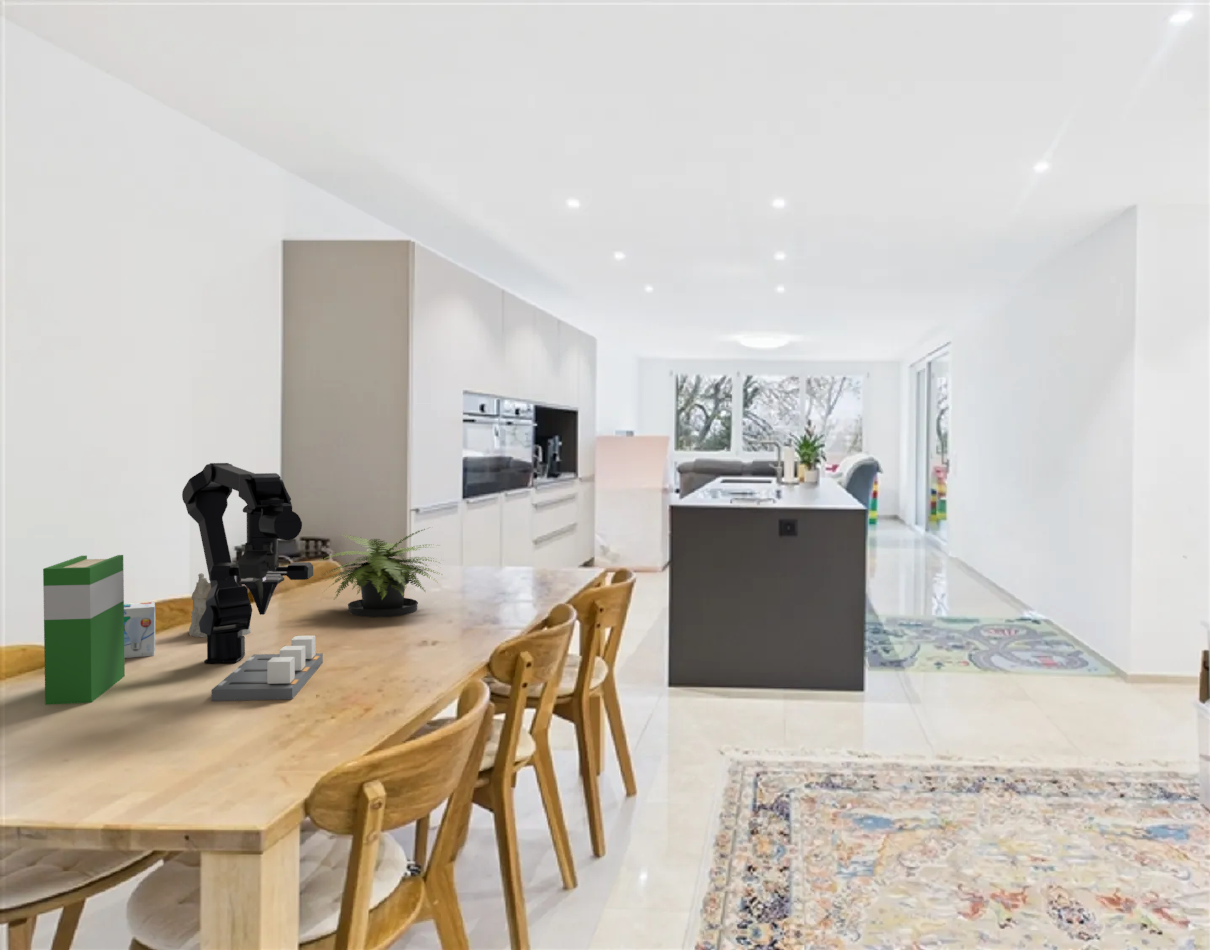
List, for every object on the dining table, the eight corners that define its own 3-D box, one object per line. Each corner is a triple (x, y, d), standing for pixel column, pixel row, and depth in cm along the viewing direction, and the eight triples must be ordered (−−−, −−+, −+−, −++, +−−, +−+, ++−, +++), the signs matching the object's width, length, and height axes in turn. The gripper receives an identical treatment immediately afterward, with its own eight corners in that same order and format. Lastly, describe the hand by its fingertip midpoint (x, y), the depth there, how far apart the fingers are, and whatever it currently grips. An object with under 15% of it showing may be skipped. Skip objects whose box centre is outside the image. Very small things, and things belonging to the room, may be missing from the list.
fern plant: (475, 615, 235) (476, 526, 234) (329, 630, 214) (329, 533, 213) (425, 594, 266) (426, 515, 265) (294, 605, 246) (294, 520, 245)
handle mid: (279, 670, 168) (279, 650, 168) (284, 666, 172) (284, 645, 172) (301, 670, 169) (301, 649, 169) (305, 665, 172) (305, 645, 172)
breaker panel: (211, 700, 156) (211, 689, 156) (253, 663, 182) (253, 653, 182) (292, 699, 158) (292, 687, 158) (322, 662, 184) (322, 652, 184)
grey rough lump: (221, 640, 203) (222, 575, 203) (174, 635, 210) (176, 572, 211) (275, 631, 216) (276, 571, 217) (229, 627, 224) (230, 568, 225)
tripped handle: (267, 683, 159) (267, 661, 159) (272, 678, 163) (272, 657, 163) (290, 683, 160) (290, 661, 160) (294, 678, 163) (294, 656, 163)
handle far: (291, 659, 177) (291, 639, 177) (295, 654, 181) (295, 635, 181) (311, 658, 178) (311, 639, 178) (315, 654, 181) (315, 635, 181)
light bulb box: (98, 661, 183) (97, 610, 183) (100, 654, 189) (99, 604, 189) (155, 655, 188) (155, 606, 188) (155, 649, 194) (155, 600, 194)
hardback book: (83, 677, 170) (81, 555, 170) (124, 676, 172) (123, 554, 171) (45, 704, 153) (43, 568, 152) (91, 702, 155) (89, 567, 154)
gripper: (198, 541, 164) (199, 623, 165) (301, 540, 166) (301, 622, 167) (218, 534, 175) (218, 611, 176) (313, 534, 178) (314, 610, 178)
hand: (262, 614), depth 174 cm, fingers closed
